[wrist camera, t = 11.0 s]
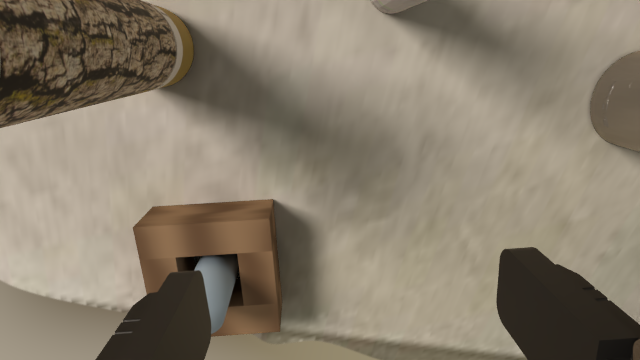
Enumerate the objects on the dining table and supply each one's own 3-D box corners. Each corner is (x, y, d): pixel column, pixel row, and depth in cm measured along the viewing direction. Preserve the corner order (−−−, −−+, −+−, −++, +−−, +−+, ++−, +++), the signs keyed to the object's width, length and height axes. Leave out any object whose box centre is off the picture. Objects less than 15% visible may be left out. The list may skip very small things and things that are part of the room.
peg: (239, 237, 41) (221, 292, 32) (243, 271, 43) (227, 334, 33) (200, 240, 41) (170, 295, 32) (206, 274, 43) (178, 337, 33)
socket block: (272, 199, 40) (269, 218, 36) (282, 301, 44) (279, 331, 39) (152, 206, 40) (132, 227, 35) (172, 309, 44) (156, 340, 39)
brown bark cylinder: (204, 79, 36) (25, 128, 13) (131, 92, 37) (-184, 166, 13) (184, -1, 34) (-76, -121, 11) (106, 13, 34) (-325, -75, 11)
